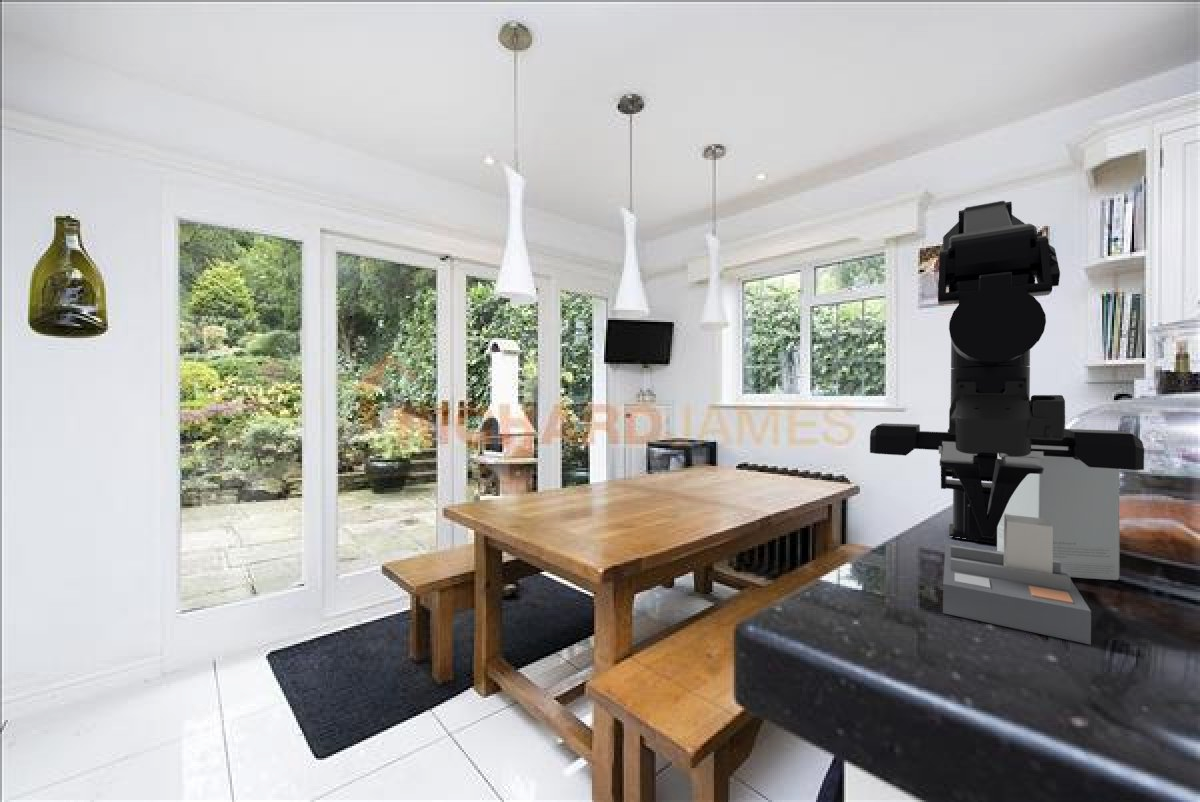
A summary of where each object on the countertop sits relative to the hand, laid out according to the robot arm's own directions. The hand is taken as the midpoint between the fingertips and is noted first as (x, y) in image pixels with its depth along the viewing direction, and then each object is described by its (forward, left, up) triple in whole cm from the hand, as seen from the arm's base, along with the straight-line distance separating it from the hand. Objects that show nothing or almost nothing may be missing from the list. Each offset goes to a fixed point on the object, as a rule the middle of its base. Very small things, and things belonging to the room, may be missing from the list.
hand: (987, 536), depth 45 cm
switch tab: (0, +3, -3) cm, 4 cm away
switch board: (0, +1, -6) cm, 6 cm away
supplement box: (-14, +6, -6) cm, 16 cm away
